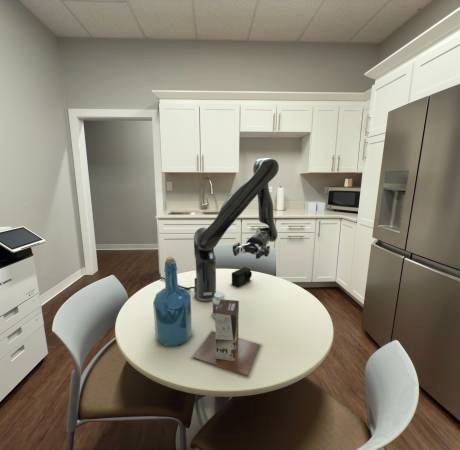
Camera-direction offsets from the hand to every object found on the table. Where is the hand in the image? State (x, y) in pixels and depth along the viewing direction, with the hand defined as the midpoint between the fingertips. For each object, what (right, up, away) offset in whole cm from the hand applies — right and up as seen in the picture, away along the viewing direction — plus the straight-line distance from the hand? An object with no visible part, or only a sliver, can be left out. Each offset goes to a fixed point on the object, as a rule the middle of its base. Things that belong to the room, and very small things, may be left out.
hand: (245, 254), depth 93 cm
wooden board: (-7, -31, -10) cm, 33 cm away
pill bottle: (-10, -27, +10) cm, 30 cm away
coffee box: (-7, -31, -10) cm, 33 cm away
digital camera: (+2, -20, +39) cm, 44 cm away
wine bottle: (-26, -30, -2) cm, 40 cm away
